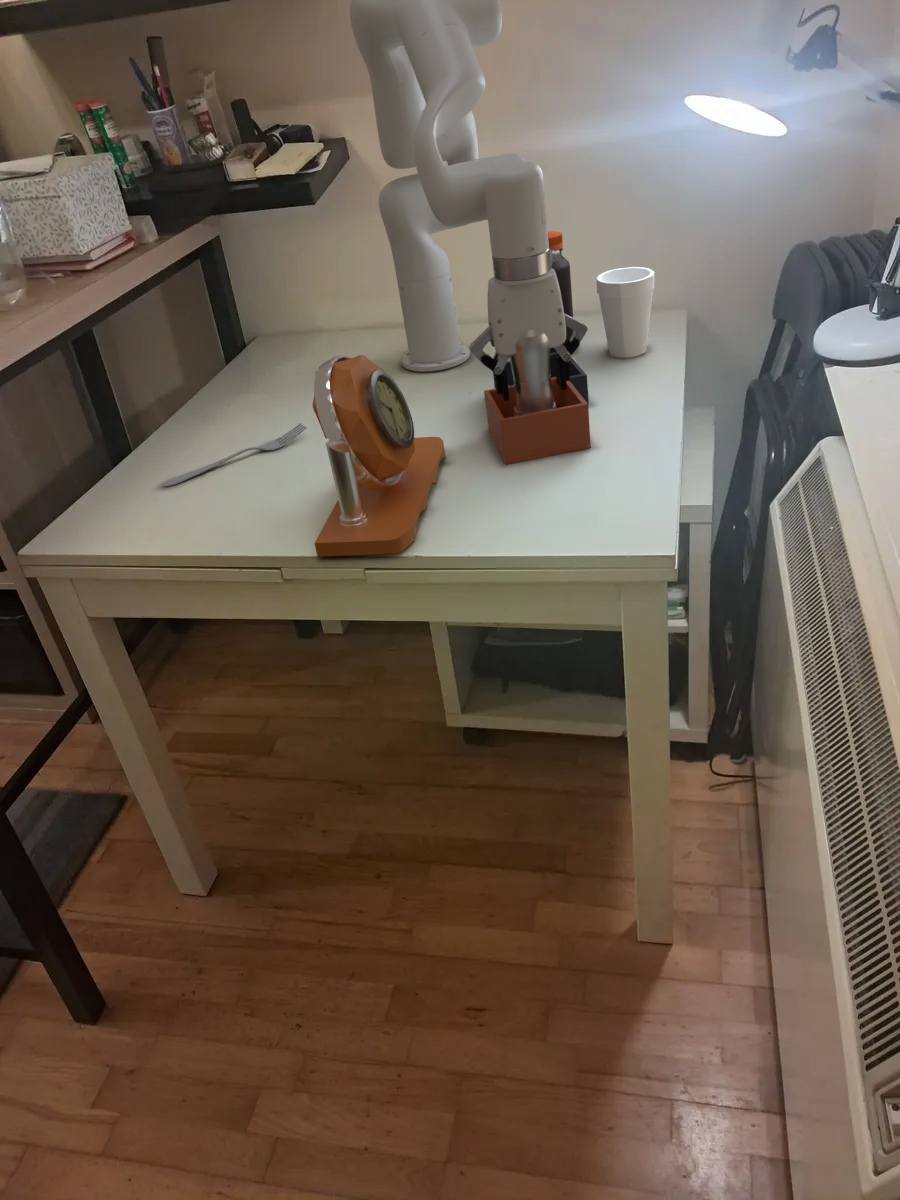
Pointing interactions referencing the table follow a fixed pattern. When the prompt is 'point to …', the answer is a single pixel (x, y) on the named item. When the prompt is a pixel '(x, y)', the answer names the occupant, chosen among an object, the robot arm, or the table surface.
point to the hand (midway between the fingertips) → (533, 391)
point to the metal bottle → (532, 374)
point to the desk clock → (371, 459)
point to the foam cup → (626, 309)
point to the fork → (269, 446)
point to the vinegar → (562, 278)
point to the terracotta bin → (538, 425)
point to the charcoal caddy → (575, 374)
